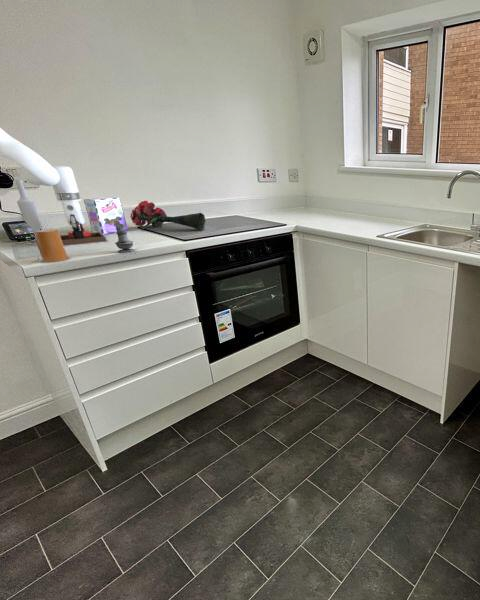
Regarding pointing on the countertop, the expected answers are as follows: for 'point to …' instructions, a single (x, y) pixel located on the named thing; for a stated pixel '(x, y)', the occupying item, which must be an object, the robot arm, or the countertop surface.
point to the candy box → (105, 214)
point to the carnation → (163, 217)
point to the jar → (50, 245)
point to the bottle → (28, 208)
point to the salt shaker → (123, 239)
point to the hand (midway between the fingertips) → (80, 238)
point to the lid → (85, 232)
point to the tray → (88, 239)
